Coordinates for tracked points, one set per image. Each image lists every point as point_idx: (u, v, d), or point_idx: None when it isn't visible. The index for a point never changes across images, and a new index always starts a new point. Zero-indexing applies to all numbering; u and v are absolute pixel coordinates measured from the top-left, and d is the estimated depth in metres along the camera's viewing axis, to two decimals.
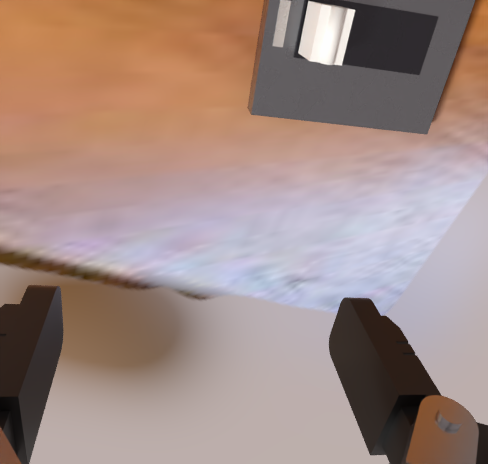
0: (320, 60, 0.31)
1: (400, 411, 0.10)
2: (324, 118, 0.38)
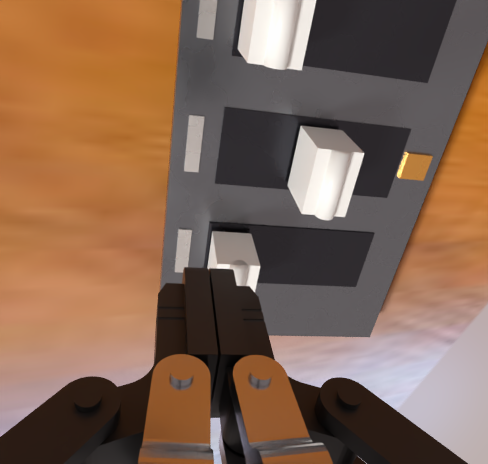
0: None
1: (227, 371, 0.10)
2: None
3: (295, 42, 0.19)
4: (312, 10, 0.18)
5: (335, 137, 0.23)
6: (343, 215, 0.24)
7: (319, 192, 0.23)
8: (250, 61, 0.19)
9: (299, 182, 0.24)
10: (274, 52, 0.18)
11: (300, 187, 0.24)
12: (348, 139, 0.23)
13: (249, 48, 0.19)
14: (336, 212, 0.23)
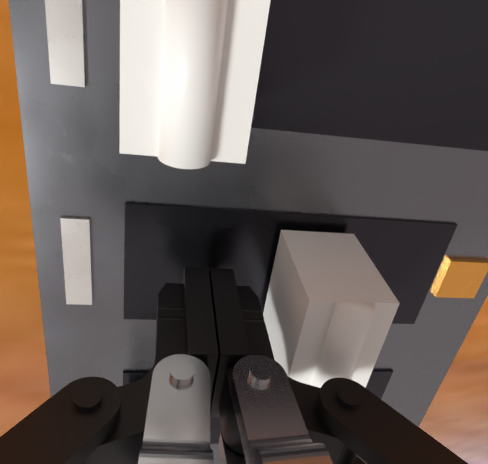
0: None
1: (227, 371, 0.10)
2: None
3: (226, 106, 0.08)
4: (260, 34, 0.08)
5: (342, 258, 0.13)
6: None
7: (314, 368, 0.12)
8: (126, 150, 0.08)
9: (277, 333, 0.13)
10: (174, 133, 0.08)
11: (280, 345, 0.13)
12: (366, 261, 0.13)
13: (120, 122, 0.08)
14: None
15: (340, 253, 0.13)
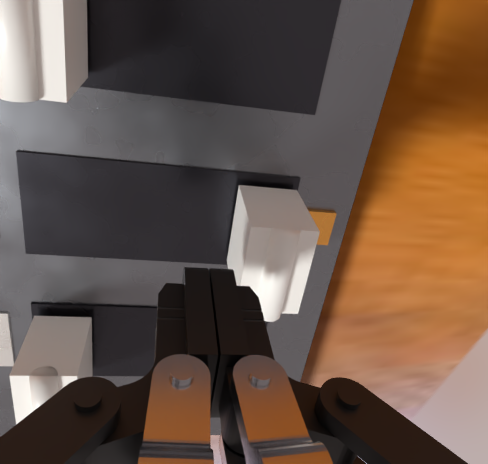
0: None
1: (227, 371, 0.10)
2: None
3: (44, 58, 0.12)
4: (59, 6, 0.11)
5: (283, 204, 0.17)
6: (295, 311, 0.17)
7: (258, 284, 0.16)
8: None
9: (234, 264, 0.17)
10: (2, 74, 0.11)
11: (235, 272, 0.17)
12: (301, 206, 0.17)
13: None
14: (285, 308, 0.17)
15: (282, 201, 0.17)
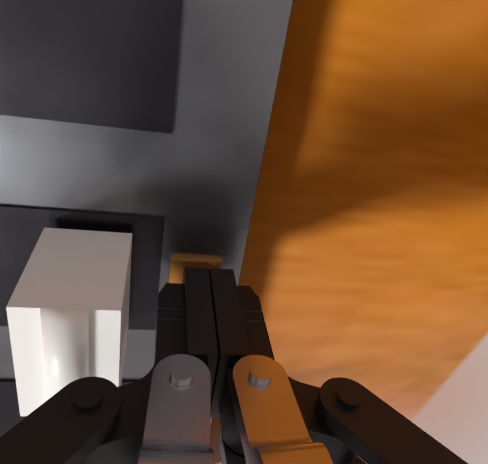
0: None
1: (227, 372, 0.10)
2: None
3: None
4: None
5: (93, 259, 0.12)
6: None
7: (42, 382, 0.11)
8: None
9: None
10: None
11: None
12: (121, 263, 0.12)
13: None
14: None
15: (95, 254, 0.12)
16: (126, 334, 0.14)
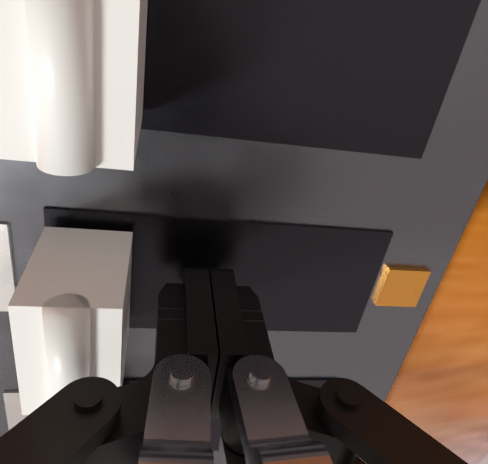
0: None
1: (227, 371, 0.10)
2: None
3: (106, 111, 0.08)
4: (133, 37, 0.07)
5: (94, 258, 0.12)
6: None
7: (44, 380, 0.11)
8: (1, 155, 0.08)
9: None
10: (45, 139, 0.08)
11: None
12: (121, 261, 0.12)
13: None
14: None
15: (96, 253, 0.12)
16: (127, 333, 0.14)
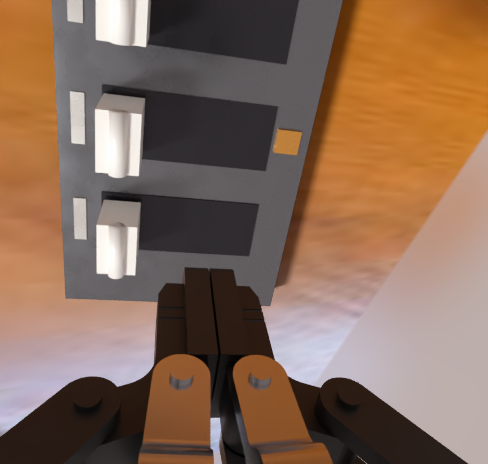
0: (108, 273, 0.29)
1: (227, 372, 0.10)
2: (150, 297, 0.35)
3: (136, 22, 0.22)
4: None
5: (127, 102, 0.25)
6: (137, 174, 0.26)
7: (106, 151, 0.25)
8: (98, 38, 0.22)
9: None
10: (115, 30, 0.21)
11: None
12: (140, 104, 0.26)
13: (96, 27, 0.22)
14: (129, 171, 0.26)
15: (128, 101, 0.26)
16: None
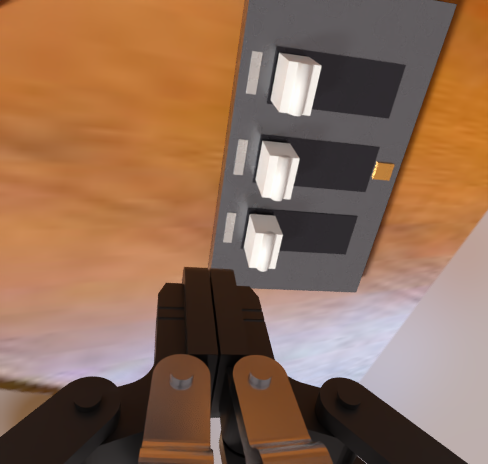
0: (257, 267, 0.40)
1: (227, 371, 0.10)
2: (269, 286, 0.46)
3: (306, 100, 0.33)
4: (316, 83, 0.32)
5: (283, 148, 0.37)
6: (289, 198, 0.37)
7: (272, 183, 0.36)
8: (280, 111, 0.33)
9: (260, 177, 0.37)
10: (294, 106, 0.32)
11: (261, 180, 0.37)
12: (292, 149, 0.37)
13: (280, 104, 0.33)
14: (284, 196, 0.37)
15: (283, 147, 0.37)
16: None
